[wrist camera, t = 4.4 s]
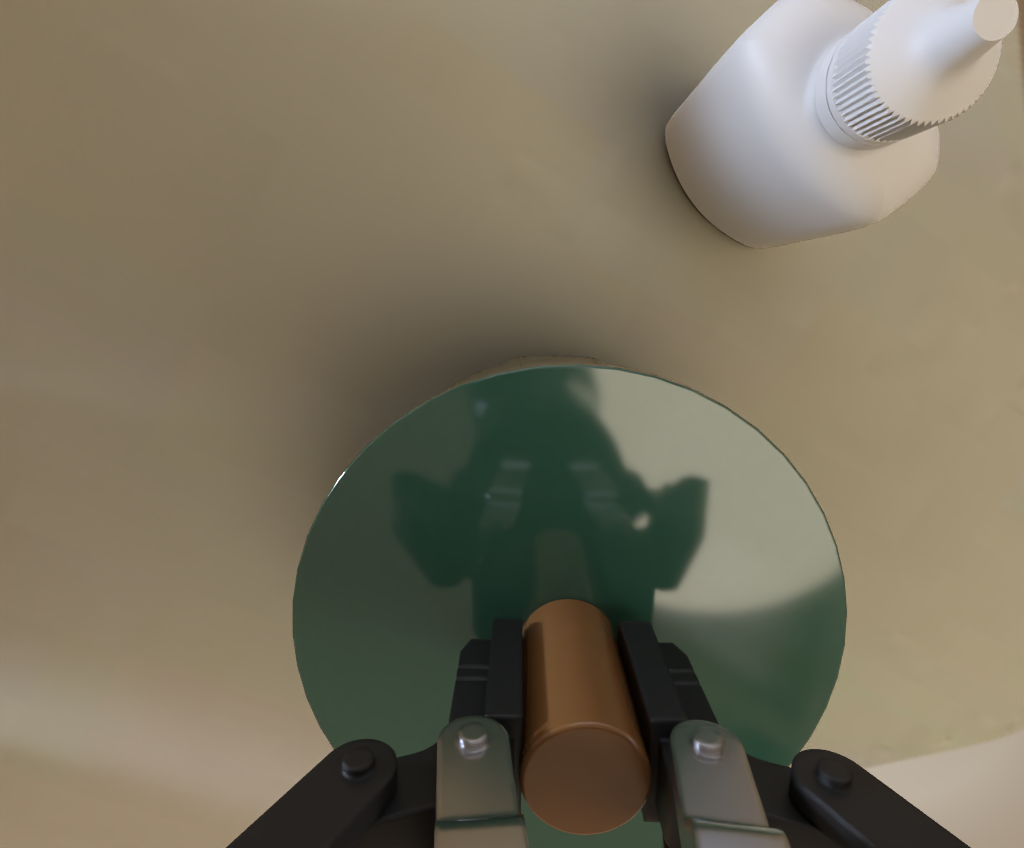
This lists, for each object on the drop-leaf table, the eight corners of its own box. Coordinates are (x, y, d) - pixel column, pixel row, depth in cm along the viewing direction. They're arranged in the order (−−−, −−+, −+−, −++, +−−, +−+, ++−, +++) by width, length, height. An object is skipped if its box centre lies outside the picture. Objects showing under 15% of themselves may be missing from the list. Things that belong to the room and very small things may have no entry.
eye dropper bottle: (783, 71, 20) (1140, -236, 9) (803, 239, 21) (1143, 170, 10) (656, 102, 21) (833, -154, 9) (682, 267, 22) (871, 232, 10)
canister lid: (289, 355, 15) (154, 391, 9) (858, 363, 15) (1060, 404, 9) (321, 826, 18) (233, 1062, 12) (795, 837, 18) (918, 1082, 12)
